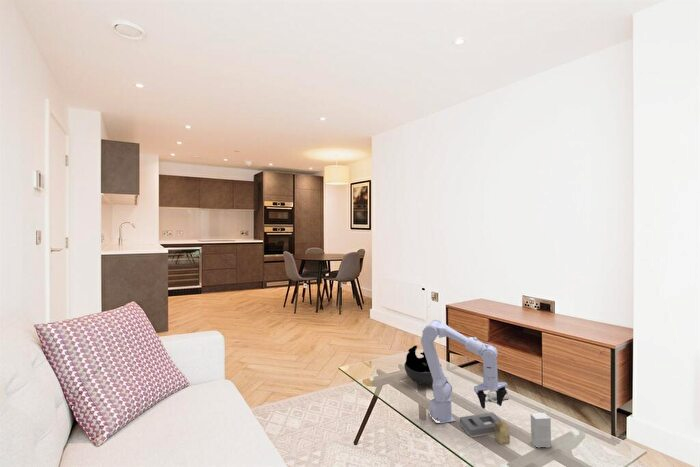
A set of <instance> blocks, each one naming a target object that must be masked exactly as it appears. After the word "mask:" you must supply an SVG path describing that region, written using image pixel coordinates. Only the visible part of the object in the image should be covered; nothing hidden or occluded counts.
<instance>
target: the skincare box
mask: <svg viewBox="0 0 700 467" xmlns="http://www.w3.org/2000/svg"><path fill="white" fill-rule="evenodd" d="M551 422H552V421H551V417H550V416H549V415H547V414H546V412H536V413H535V412H534V413H530V440H531V441H532V442H533V443H534V444H535V446H536V447H546V448H552V430H551V429H552V425H551V424H552V423H551ZM531 441H530V442H531ZM532 442H531V443H532ZM533 443H532V444H533ZM535 446H534V447H535ZM536 447H535V448H536Z"/></svg>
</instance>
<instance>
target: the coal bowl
mask: <svg viewBox="0 0 700 467" xmlns="http://www.w3.org/2000/svg"><path fill="white" fill-rule="evenodd" d="M417 348H418V345H414V346H412V347H410V348H409V349H408V350H407V351H408V352H407V354H406V356H405V360H406V361H405V363H404V365H403V366H404V370H405V373H406V375H407V377H408V378H409V379H410V380H411V381H413V382H414V383H415V384H419V385H422V386H423V385H430V384H433V378H432V375H431V372H430V369H429V366H428V363H427V359H426V356H425V353H424V350H423V351H422V352H420V353H419V354H420V355H422V357H418V356H417V354H416V351H417ZM440 365H441V366H442V364H441V363H440Z"/></svg>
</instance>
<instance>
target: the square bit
mask: <svg viewBox="0 0 700 467" xmlns="http://www.w3.org/2000/svg"><path fill="white" fill-rule="evenodd" d="M510 434H511V433H510V425H509V424H508V423H507V422H506V421H504V420H501V421H498V422H495V433H494V439H495V440H496V441H497V443H499V444H500V445H505V444H510V442H511V441H510V436H511V435H510Z"/></svg>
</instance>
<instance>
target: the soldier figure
mask: <svg viewBox="0 0 700 467" xmlns="http://www.w3.org/2000/svg"><path fill="white" fill-rule="evenodd" d="M484 394H485V395H486V398H488V399H489V400H490V401H491V402H492V403H494V404H497V395H496V393H494V391H493V390H488V392H487V393H484ZM508 394H509V392H508V391H507V393H506V395H508ZM509 399H510V397H509V396H506V397H505V396H504V398H503V401H504V400H509Z"/></svg>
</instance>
